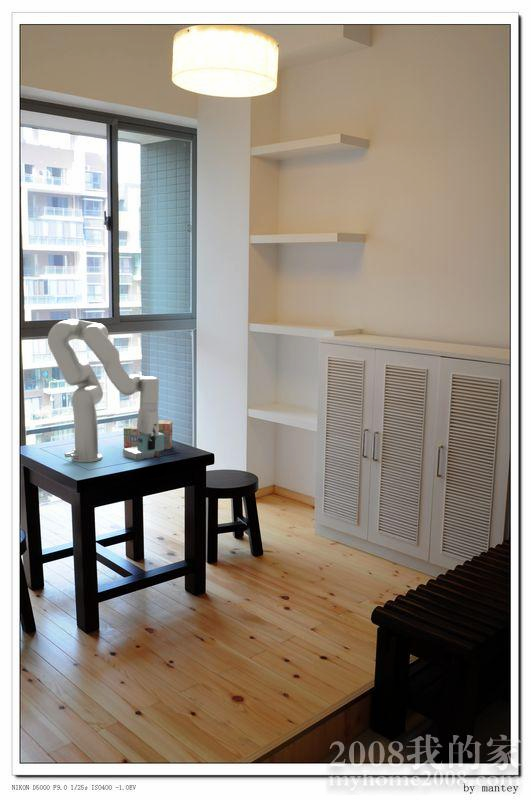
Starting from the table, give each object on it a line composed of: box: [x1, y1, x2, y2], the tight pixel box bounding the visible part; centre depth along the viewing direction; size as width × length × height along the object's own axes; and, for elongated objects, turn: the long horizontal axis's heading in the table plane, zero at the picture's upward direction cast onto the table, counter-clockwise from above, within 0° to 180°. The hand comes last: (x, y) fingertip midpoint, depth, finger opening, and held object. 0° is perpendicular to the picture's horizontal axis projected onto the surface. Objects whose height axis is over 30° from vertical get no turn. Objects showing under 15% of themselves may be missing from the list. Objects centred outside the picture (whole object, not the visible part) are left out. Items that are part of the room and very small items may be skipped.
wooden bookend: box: [122, 429, 161, 461], centre depth 327 cm, size 12×12×12 cm
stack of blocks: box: [123, 419, 173, 450], centre depth 341 cm, size 21×6×12 cm, turn 86°
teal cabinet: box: [137, 432, 164, 453], centre depth 317 cm, size 11×5×7 cm, turn 132°
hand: (147, 447), depth 317 cm, fingers closed on teal cabinet, 5 cm apart
